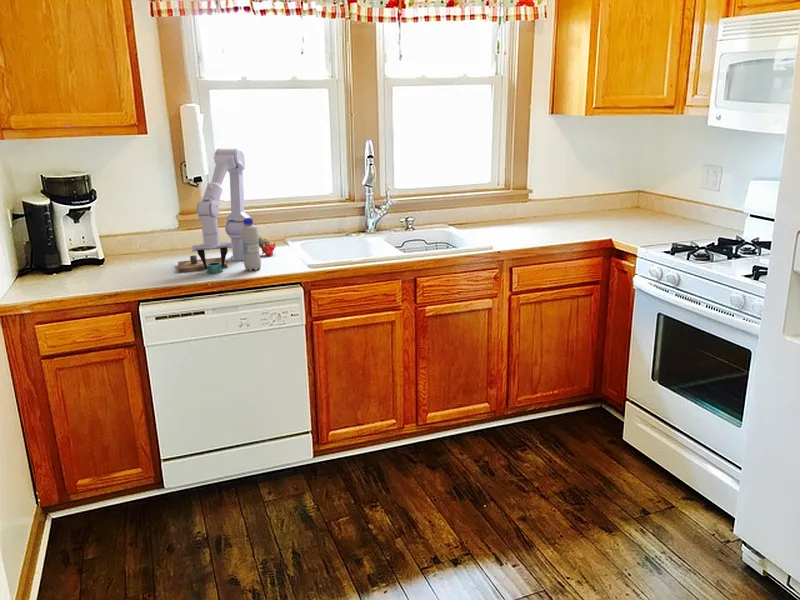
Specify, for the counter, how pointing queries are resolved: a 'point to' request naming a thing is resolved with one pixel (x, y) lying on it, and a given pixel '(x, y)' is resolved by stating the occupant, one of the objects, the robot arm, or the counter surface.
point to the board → (196, 264)
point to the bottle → (250, 245)
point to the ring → (214, 267)
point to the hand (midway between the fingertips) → (214, 268)
